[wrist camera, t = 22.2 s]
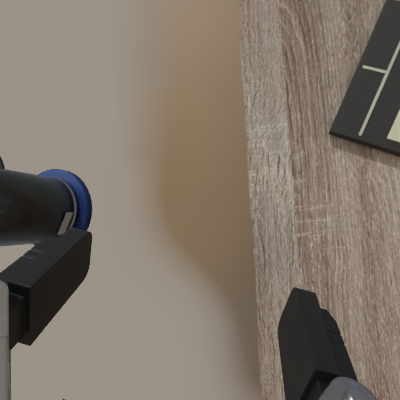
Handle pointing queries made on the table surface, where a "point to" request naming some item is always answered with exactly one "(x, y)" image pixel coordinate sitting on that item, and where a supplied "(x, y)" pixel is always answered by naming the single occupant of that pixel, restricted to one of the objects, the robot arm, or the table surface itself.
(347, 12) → the table surface
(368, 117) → the board
